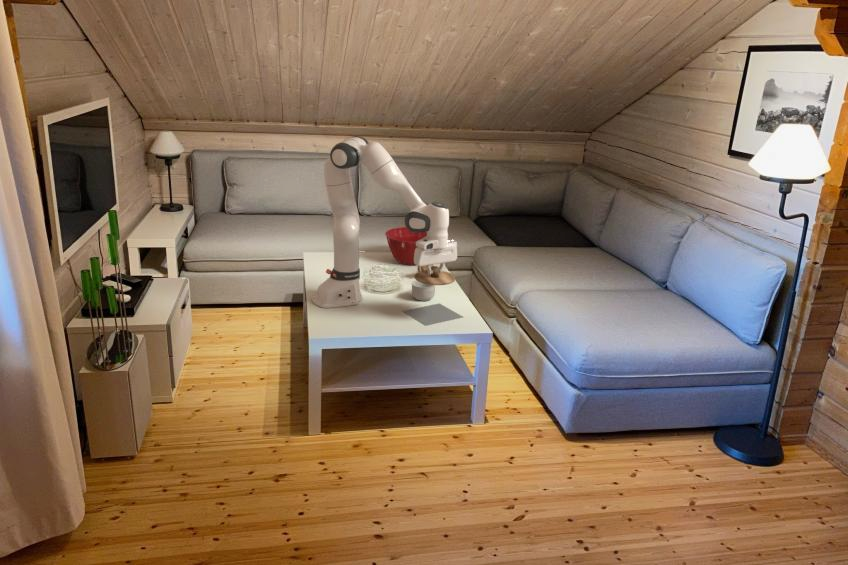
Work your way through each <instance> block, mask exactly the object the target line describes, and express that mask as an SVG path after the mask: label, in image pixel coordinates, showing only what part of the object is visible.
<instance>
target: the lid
mask: <svg viewBox="0 0 848 565" xmlns="http://www.w3.org/2000/svg"><path fill="white" fill-rule="evenodd" d="M439 269H440V268H439V266H436V265H434V266H433V267H431V270H433V274H430V275H429V274H428V270H425V271H420V272H418V271H417V272H416V273H415V274H414V279H415V280H417V281H419V282H421V283H424V284H429V285H435V286H445V285H446V286H447V285H451V284H452V283H454V282H455V279H456V276H455V275H454V274H453V273H451V272H447V271H444V270H442V273H439Z"/></svg>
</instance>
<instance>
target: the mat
mask: <svg viewBox="0 0 848 565" xmlns="http://www.w3.org/2000/svg"><path fill="white" fill-rule="evenodd" d="M402 312H403V313H404V314H406V315H407V316H409V317H411V319H414V320H416V321H417V322H418V323H420V324H421V325H423V326H425V327H426V326H431V325H434V324H435V325H436V324H439V323H444V322H451V321H454V320H458V319H462V318H464V316H463V315H461V314H460V313H457V312H455V311H454V310H452V309H451V308H449V307H447V306H445V305H443V304H442V303H436V304H431V305H430V304H429V305H424V306H421V307H415V308H410V309H406V310H402Z"/></svg>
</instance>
